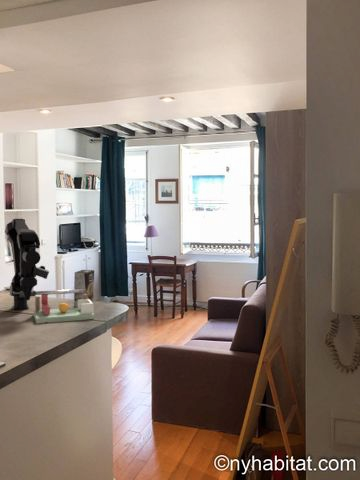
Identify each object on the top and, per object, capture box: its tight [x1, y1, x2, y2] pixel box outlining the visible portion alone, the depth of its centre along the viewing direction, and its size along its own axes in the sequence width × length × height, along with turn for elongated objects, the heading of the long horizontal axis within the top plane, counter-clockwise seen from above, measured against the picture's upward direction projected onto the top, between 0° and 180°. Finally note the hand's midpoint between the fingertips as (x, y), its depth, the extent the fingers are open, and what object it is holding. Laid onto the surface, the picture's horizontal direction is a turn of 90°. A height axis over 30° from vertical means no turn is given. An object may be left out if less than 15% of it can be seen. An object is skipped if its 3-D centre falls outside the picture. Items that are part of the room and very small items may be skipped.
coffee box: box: [73, 269, 95, 308], centre depth 207 cm, size 9×6×16 cm
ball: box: [58, 302, 70, 312], centre depth 186 cm, size 4×4×4 cm
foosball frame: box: [33, 294, 95, 324], centre depth 186 cm, size 13×23×8 cm, turn 113°
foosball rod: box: [20, 288, 83, 315], centre depth 186 cm, size 10×26×8 cm, turn 113°
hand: (27, 298), depth 185 cm, fingers open, 6 cm apart
